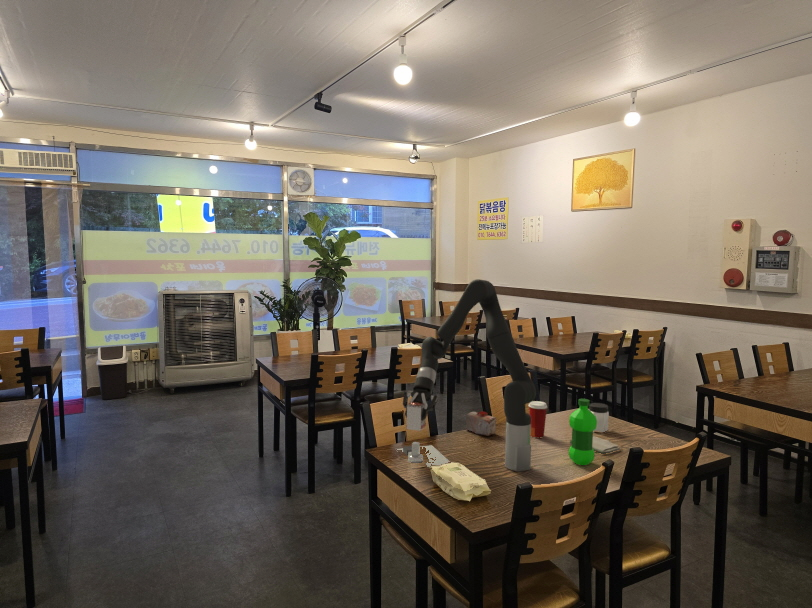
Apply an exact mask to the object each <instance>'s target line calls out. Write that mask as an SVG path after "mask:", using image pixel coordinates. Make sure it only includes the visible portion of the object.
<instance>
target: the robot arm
mask: <svg viewBox="0 0 812 608" xmlns="http://www.w3.org/2000/svg"><path fill="white" fill-rule="evenodd" d="M477 304H480V307H481V309H482V311H483V313H484V317H485V332H486V339H487V341H488V344H489V346H490V348H491V351H492V353H493V354H494V356H495V357H496V359H498V361H499V362H500V363H502V365H503V366H504V367H505V369H506V370H507V371H508V373H509V375H510V378H511V380H512V381H510V382H508V383H507V384H506V385H505V388H504V392H503V410H504V411H503V412H504V416H505V419H506V420H505V421H506V423H505V447H504V467H505V468H506V469H509V470H511V471H515V472H524V471H530V470H531V463H532V462H531V461H532V459H531V458H532V445H531V416H530V415H529V413H526V404H529V403H530V402H532V401H535V398H536V395H537V390H536V386H535V384H534V382H533V380H532V378H531V376H530V374H529V372H528V370H527V368H526V367H525V364H524V362H523V360H522V357H521V356H520V352H519V350H518V348H517V345H516V342H515V340H514V337H513V335H512V332H511V330H510V328H509V325H508V323H507V320H506V318H505V316H504V313H503V311H502V309H501V305H500V302H499V299H498V295H497V291H496V289H495V286H494V284H493V283H491V282H490V281H489V280H486V279H473V280H471V281H470V282H469V283H468V284H467V286H466V288H465V289H464V291H463V293H462V295H461V297H460V299H459V300H458V302H457V303H456V305H455V307H454V309H453V310H452V312H451V313H450V314H449V315H448V317H447V318H446V319H445V321H444V322H443V323H442V324H441V326H440V327H439V328H438V330H437V333H436V334H437V336H438V337H439V338H440V339H441V340H442V341H440V340H438V338H437V339H436V338H435V337H433V336H428V337H426V338H424V339H423V341H422V343H421V362H420V366H419V369H418V371H417V374H416V377H415V381H414V383H413V385H414V386H413V387H412V391H411V392H407V391H404V392H403V397H402V398H403V399H402V406H403V408H404V409H405V411H404V416H405V418H406V419H407V404H409V403H410V402H414V401H415V402H423V403H425V405H424V409H423V412H422V416H421V419H422V420H423V421H424V419H425V420H426V419H427V416H428V412H434V410H435V408H436V405H437V403H438V402H439V399H438V395H433V394H432V393H433V390H434V385H435V383H436V378H437V371H438V367H439V361H438V360H440V359H443V358H444V357H445V356H446V354H447V353H448V352H447V351H448V349H449V347H450V345H451V342H453V341H452V340H453V339H454V338H455V337H456V335H458V333H459V332H460V330H461V329H462V328H463V326H464V324H465V321H466V319H467V317H468V314H469V313H470V311H471V310H472V309H473V308H474V307H476V305H477ZM410 397H411V398H410ZM430 400H431V401H430ZM429 401H430V404H429V406H428V402H429Z"/></svg>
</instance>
